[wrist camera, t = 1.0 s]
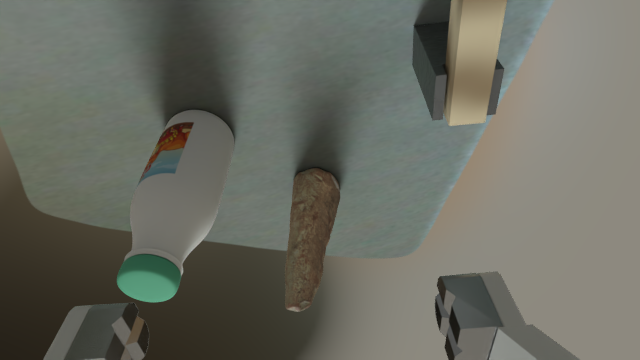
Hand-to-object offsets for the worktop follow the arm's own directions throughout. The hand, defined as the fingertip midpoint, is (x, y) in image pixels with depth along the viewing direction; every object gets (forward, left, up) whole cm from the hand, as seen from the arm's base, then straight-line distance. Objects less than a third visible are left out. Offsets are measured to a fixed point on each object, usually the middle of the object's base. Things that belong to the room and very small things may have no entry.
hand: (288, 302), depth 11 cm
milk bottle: (+16, -14, -32) cm, 39 cm away
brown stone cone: (+25, -2, -32) cm, 41 cm away
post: (+8, +12, -32) cm, 35 cm away
